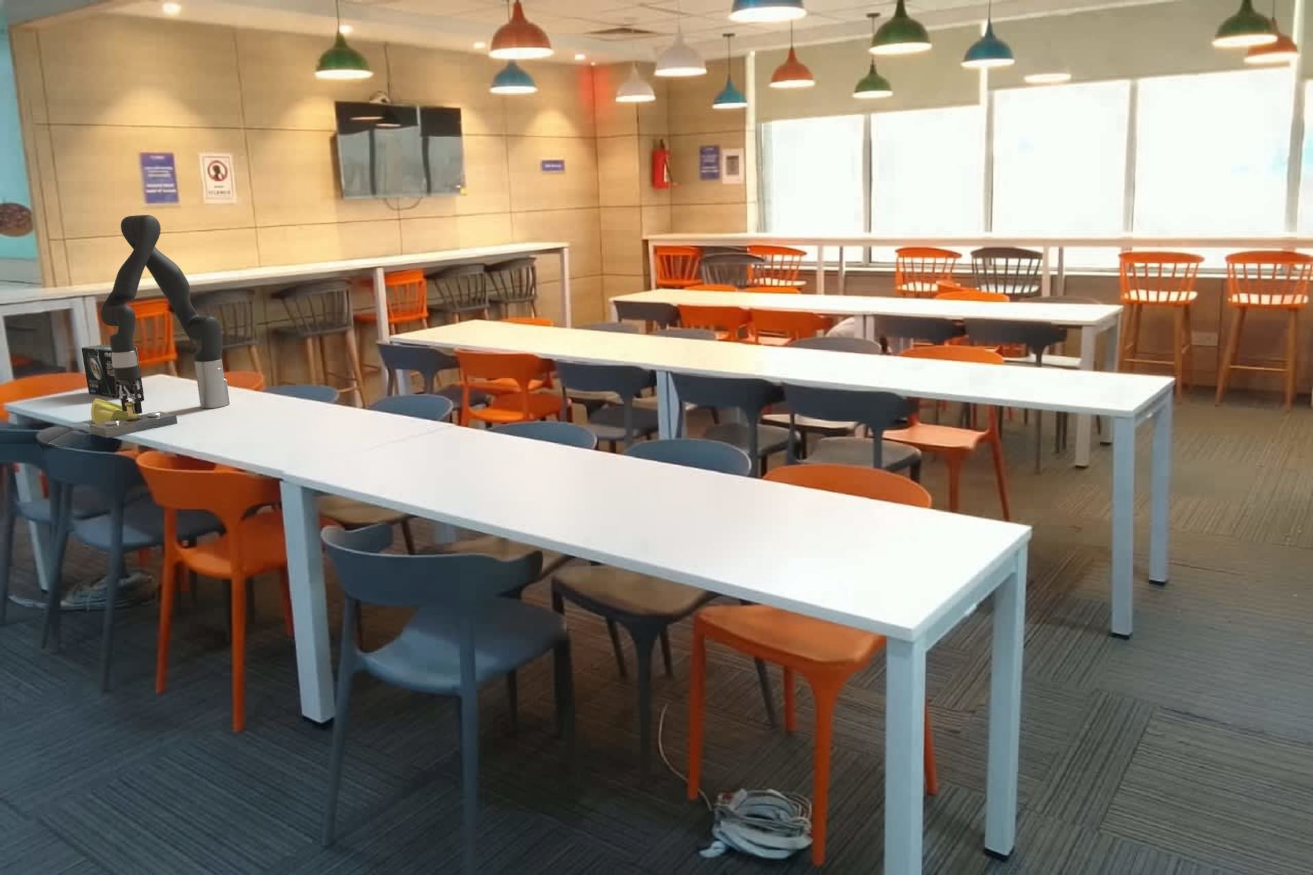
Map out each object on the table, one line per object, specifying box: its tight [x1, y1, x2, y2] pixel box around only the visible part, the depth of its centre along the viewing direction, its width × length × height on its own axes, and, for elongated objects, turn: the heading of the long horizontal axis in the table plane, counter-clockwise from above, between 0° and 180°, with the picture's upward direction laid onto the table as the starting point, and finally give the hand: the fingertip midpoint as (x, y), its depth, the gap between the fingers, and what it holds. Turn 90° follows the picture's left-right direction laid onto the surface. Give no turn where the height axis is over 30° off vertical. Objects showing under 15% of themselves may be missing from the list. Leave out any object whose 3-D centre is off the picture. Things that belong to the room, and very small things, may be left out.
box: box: [80, 344, 145, 399], centre depth 414 cm, size 23×10×19 cm, turn 57°
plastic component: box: [90, 398, 140, 424], centre depth 366 cm, size 20×7×10 cm
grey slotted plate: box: [89, 410, 178, 439], centre depth 354 cm, size 24×11×4 cm, turn 142°
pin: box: [125, 400, 139, 422], centre depth 354 cm, size 4×4×9 cm
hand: (132, 412), depth 353 cm, fingers open, 8 cm apart
